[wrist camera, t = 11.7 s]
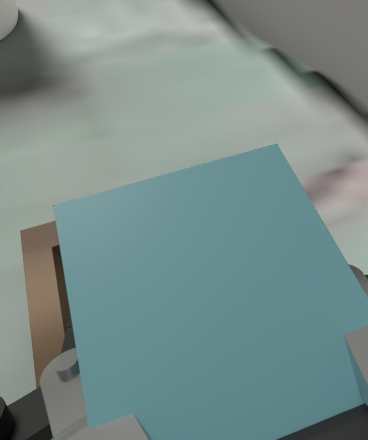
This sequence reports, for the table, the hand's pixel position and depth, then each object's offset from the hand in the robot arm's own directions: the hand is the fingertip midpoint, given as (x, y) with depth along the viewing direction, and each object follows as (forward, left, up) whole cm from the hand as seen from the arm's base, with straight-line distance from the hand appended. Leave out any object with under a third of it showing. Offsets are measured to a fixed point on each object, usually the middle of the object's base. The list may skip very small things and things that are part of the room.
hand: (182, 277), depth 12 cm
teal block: (+2, -1, -4) cm, 5 cm away
